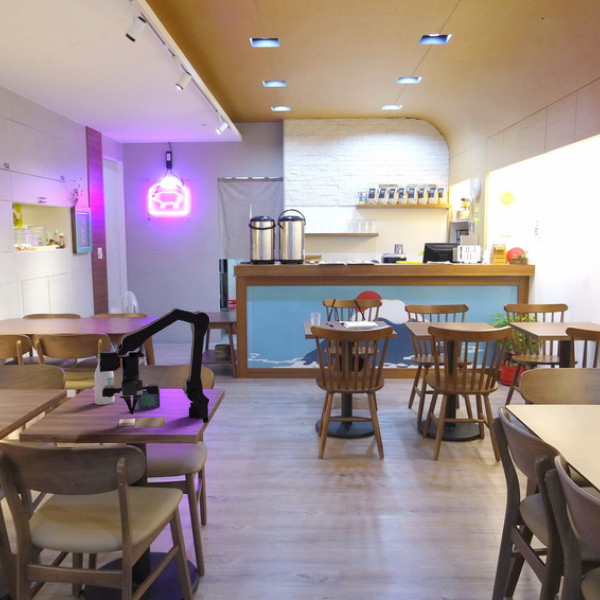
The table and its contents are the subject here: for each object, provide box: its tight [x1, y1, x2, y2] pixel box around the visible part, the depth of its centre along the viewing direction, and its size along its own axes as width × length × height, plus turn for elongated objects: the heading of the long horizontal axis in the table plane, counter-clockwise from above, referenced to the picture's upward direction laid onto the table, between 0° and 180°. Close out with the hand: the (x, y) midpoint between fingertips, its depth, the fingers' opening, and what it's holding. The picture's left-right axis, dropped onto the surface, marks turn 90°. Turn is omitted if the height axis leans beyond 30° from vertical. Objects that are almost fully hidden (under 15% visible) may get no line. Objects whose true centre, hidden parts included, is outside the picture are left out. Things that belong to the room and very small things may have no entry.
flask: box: [135, 383, 161, 411], centre depth 215 cm, size 9×3×11 cm, turn 109°
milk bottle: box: [93, 353, 116, 406], centre depth 228 cm, size 8×8×20 cm
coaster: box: [118, 418, 136, 427], centre depth 195 cm, size 5×5×2 cm
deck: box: [134, 416, 166, 429], centre depth 196 cm, size 10×12×2 cm
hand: (132, 414), depth 195 cm, fingers closed
